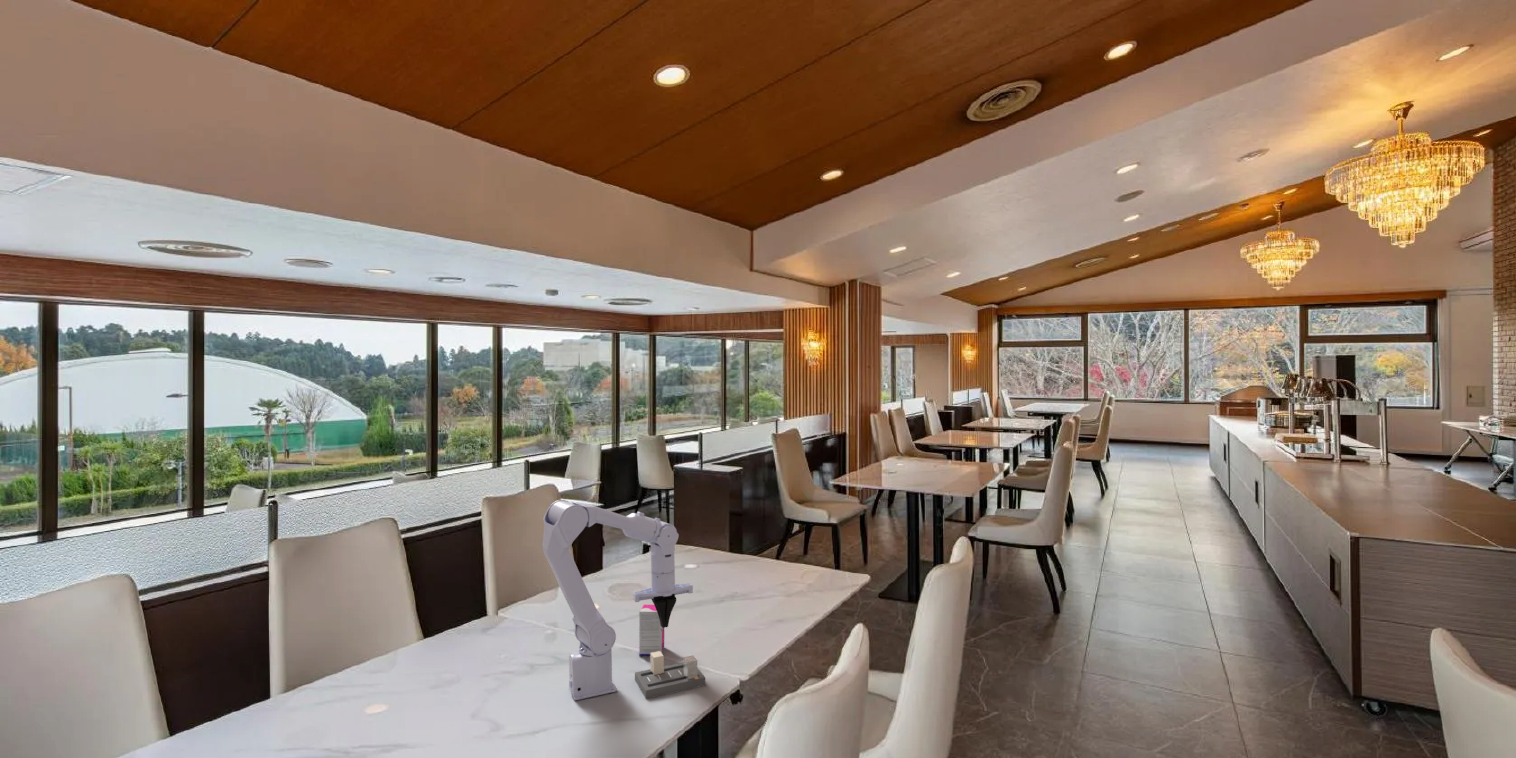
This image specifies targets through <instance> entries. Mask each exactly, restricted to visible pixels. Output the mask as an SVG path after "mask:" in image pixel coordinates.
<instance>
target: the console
mask: <svg viewBox="0 0 1516 758" xmlns="http://www.w3.org/2000/svg"><path fill="white" fill-rule="evenodd" d="M634 681H635V683H636V684H637V686H638V688H639V689H640V691H641V693H642V694H643V696H644V698H645V700H646V699H647V700H648V699H650V698H651V699H652V698H656V697H659V696H664V695H668V694H672V693H677V692H682V691H686V690H691V689H696V688H699V687H703V686H704V687H705V686H706V685H707V684H706V676H705V675H704V673H702V672H701V670H700V669H699V668H698V678H694V679H689V680H688V679H687V678H686V677H685V676H684V666H683V662H679V663H675V664H674V663H673V664H669V665H664V673H661V674H656V675H654V674H653V673H652V671H651V668H650V669H646V670H642V671H641V670H640V671H636V672H635V671H634Z"/></svg>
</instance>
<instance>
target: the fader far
mask: <svg viewBox="0 0 1516 758" xmlns="http://www.w3.org/2000/svg"><path fill="white" fill-rule="evenodd" d="M649 658H650V659H649V660H650V669H651V671H652V673H653V674H654V675H656V674H661V673H664V666H665V661H664V660H665V657H664V655H663V652H662V653H661V652H660V651H658V652H652V653H650V656H649Z"/></svg>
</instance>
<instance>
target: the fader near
mask: <svg viewBox="0 0 1516 758" xmlns="http://www.w3.org/2000/svg"><path fill="white" fill-rule="evenodd" d="M682 659H683V660H682V663H683V666H684V676H685V677H686V678H687V679H688V680H689V679H694V678H698V669H699V668H698V659H697V658H696V657H695V655H689V656H688V655H687V656H683V658H682Z"/></svg>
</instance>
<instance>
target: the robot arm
mask: <svg viewBox="0 0 1516 758" xmlns="http://www.w3.org/2000/svg"><path fill="white" fill-rule="evenodd" d="M542 520H543V537H542V547H541V549H542V553H543V554H544V557H545V559H546V561H547V563H548V564H549V566H550V569H551V571H552V574H553V575H554V577H555V579H556V581H557V583H558V586H559V588H560V590H561V593H562V594H563V596H564V598H565V601H566V602H567V605H568V607H569V609H570V611H571V613H572V615H573V618H572V621H573V625H574V635H575V637H576V639H577V640H578V641H579V647H578V649H579V650H578V651H576V652H573V653H571V654H569V656H568V669H569V670H568V673H569V675H568V676H569V680H568V683H569V684H568V685H569V689H570V692H571V695H572V698H573V701H578V700H584V699H588V698H592V697H597V696H601V695H606V694H610V693H615V692H617V690H618V689H617V686H616V684H615V683H614V681H613V662H612V661H613V660H612V657H613V656H612V648H613V647H614V645H615V643H616V639H617V635H616V631H615V629H614V628H613V627H612V625H609V624H608V623H607V622H606V619H605V618H604V617H603V615H602V614H601V612H600V611H599V610H598V608H597V607H596V605H595V601H593V597H592V596H591V594H590V592H589V590H588V588H587V585H586V583H585V580H584V579H583V577H582V575H581V573H580V571H579V569H578V566H577V565H576V564H577V563H576V562H575V560H574V558H573V556H572V554H571V552H570V551H571V550H570V548H571V546H572V544H573V542H574V541H575V540H576V539H577V538H578V537H579V535H580V534H581V533H582V532H583V531H584V529H585V528H586V527H588V528H590V527H592V526H593V525H595V524H600V525H605V526H608V527H612V528H617V529H621V530H622V532H623V534H624V536H625V537H627V538H629V539H630V538H631V539H634V540H638V541H641V542H645V543H650V569H651V570H650V571H651V572H650V573H651V575H650V576H651V579H650V580H651V587H649V588H645V589H642V590H639V591H633V601H634V603H640V601H641V602H642V601H645V600H646V601H647V600H651V601H652V603H653V605H655V608H656V610H657V613H658V616H659V620H660V625H661V627H662V628H664V629H665V628H668V627H669V624H670V623H669V621H670V617H671V615H672V611H673V609H674V607H675V605H676V603H677V597H676V596H678V595H682V594H693V593H694V591H693V589H694V586H693V585H692V584H691V583H690V582H689V583H683V584H682V583H681V584H680V583H679V584H676V578H675V577H676V575H675V574H676V573H675V571H676V569H675V568H676V566H675V565H676V564H675V551H676V547H675V546H676V544H677V542H678V539H679V536H680V535H679V533H678V530H677V528H676V527H675V526H674V525H673V524H671V523H668V522H665V521H662V520H661V518H658V517H654V518H653V517H649V516H646V515H645V513H644V512H640V511H637V512H631V513H630V514H628V515H622V514H620V513H617V512H615V511H614V512H613V511H611V510H607V509H605V508H602V507H598V506H595V505H592V504H588V503H582V502H578V501H577V502H576V501H571V502H569V501H568V500H565V499H558V500H555V501H553V502H552V503H551V504H550V505H549V506H548V508H547V510H546V512H545V514H544V516H543V518H542Z"/></svg>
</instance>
